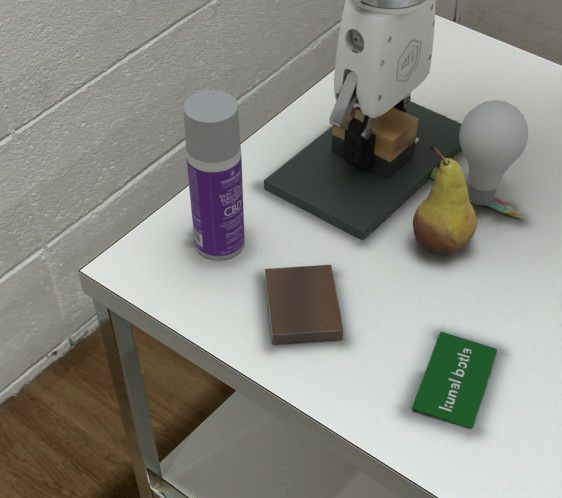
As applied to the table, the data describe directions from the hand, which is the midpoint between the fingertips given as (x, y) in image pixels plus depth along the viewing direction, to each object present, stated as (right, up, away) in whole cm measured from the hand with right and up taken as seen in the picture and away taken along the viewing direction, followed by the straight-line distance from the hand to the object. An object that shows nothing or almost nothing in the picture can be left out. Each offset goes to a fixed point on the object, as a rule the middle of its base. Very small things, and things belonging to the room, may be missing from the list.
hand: (373, 149), depth 94 cm
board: (0, -1, +1) cm, 2 cm away
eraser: (0, 0, 0) cm, 1 cm away
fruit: (+6, -11, -6) cm, 14 cm away
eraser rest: (-7, -17, -12) cm, 22 cm away
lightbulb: (+10, -6, -3) cm, 12 cm away
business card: (+8, -24, -17) cm, 31 cm away
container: (-15, -10, -6) cm, 19 cm away
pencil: (+7, -4, -1) cm, 8 cm away
